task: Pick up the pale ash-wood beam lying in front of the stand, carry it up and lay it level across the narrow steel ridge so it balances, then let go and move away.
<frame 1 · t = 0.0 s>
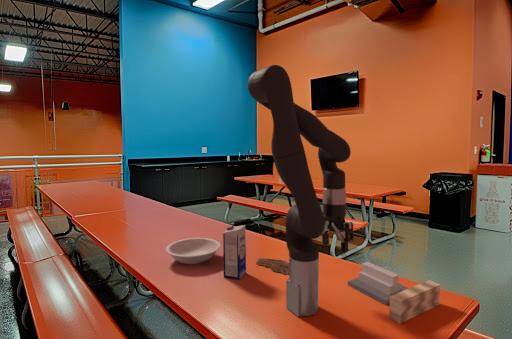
hand: (334, 248, 103), 17 cm above the table, tool pointing down, fingers open, 8 cm apart
ash bar: (414, 311, 97), on the table
wooden fragment: (280, 268, 130), on the table
soup bowl: (194, 260, 138), on the table
milk carton: (235, 275, 123), on the table
ridge stand: (378, 289, 111), on the table
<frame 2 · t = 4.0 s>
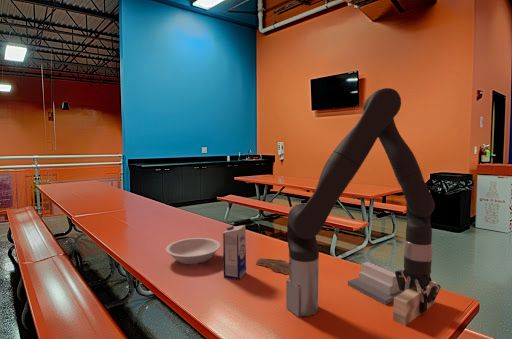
hand: (415, 308, 97), 1 cm above the table, tool pointing down, fingers closed on ash bar, 4 cm apart
ash bar: (415, 311, 97), on the table, touching gripper
everything else where it was.
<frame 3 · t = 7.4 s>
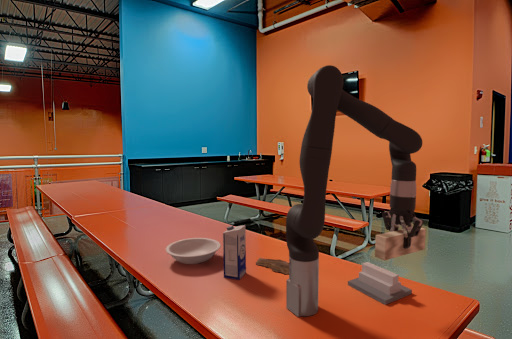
hand: (400, 245, 100), 19 cm above the table, tool pointing down, fingers closed on ash bar, 3 cm apart
ash bar: (400, 252, 101), point 17 cm above the table, touching gripper
everything else where it was.
when the fingers open (10 cm above the table, at t = 10.9 s): ash bar stays where it is, resting on ridge stand.
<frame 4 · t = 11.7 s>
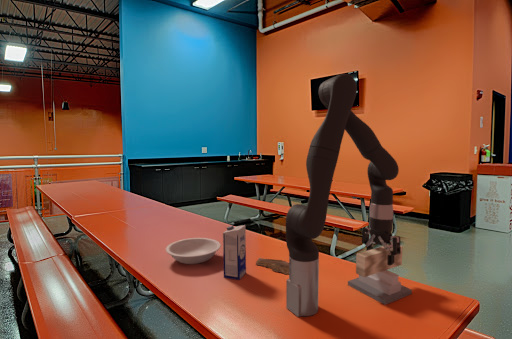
hand: (379, 260, 109), 11 cm above the table, tool pointing down, fingers open, 8 cm apart
ash bar: (379, 268, 110), point 7 cm above the table, touching ridge stand
everything else where it was.
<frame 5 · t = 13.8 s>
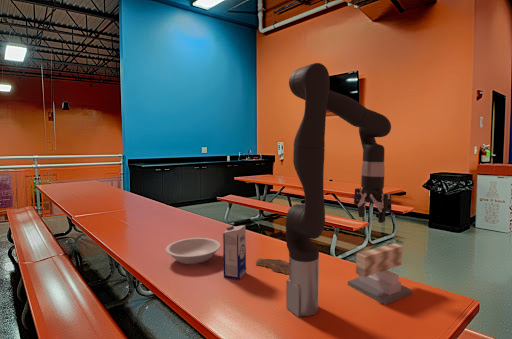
hand: (371, 219, 110), 25 cm above the table, tool pointing down, fingers open, 8 cm apart
nothing on the table moved.
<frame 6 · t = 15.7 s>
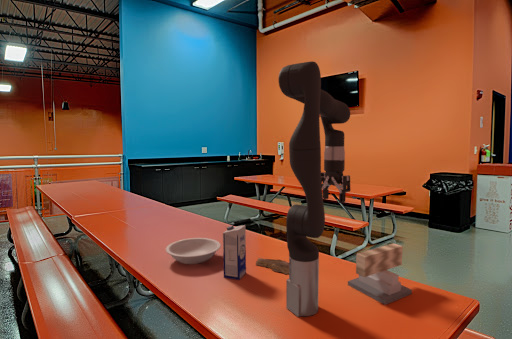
hand: (333, 200, 118), 30 cm above the table, tool pointing down, fingers open, 8 cm apart
nothing on the table moved.
at the end: ash bar inside the target area on the ridge stand (0.2 cm from its centre), point 7.5 cm above the ridge stand's base; ash bar tilted 0°; the gripper is holding nothing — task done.
